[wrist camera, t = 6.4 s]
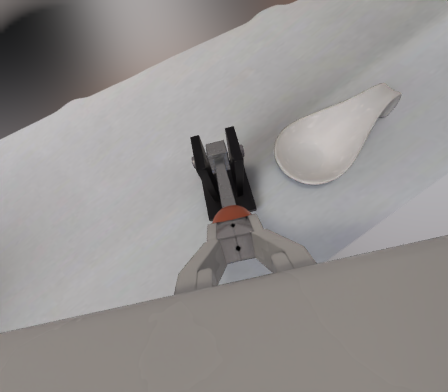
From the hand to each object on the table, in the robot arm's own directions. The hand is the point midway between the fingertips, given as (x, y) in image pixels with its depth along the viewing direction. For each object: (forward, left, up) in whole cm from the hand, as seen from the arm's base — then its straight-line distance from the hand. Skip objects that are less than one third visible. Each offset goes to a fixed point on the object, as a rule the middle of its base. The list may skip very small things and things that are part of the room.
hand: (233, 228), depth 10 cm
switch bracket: (+8, -4, -17) cm, 20 cm away
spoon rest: (+3, -24, -17) cm, 30 cm away
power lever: (+4, -2, -5) cm, 7 cm away
